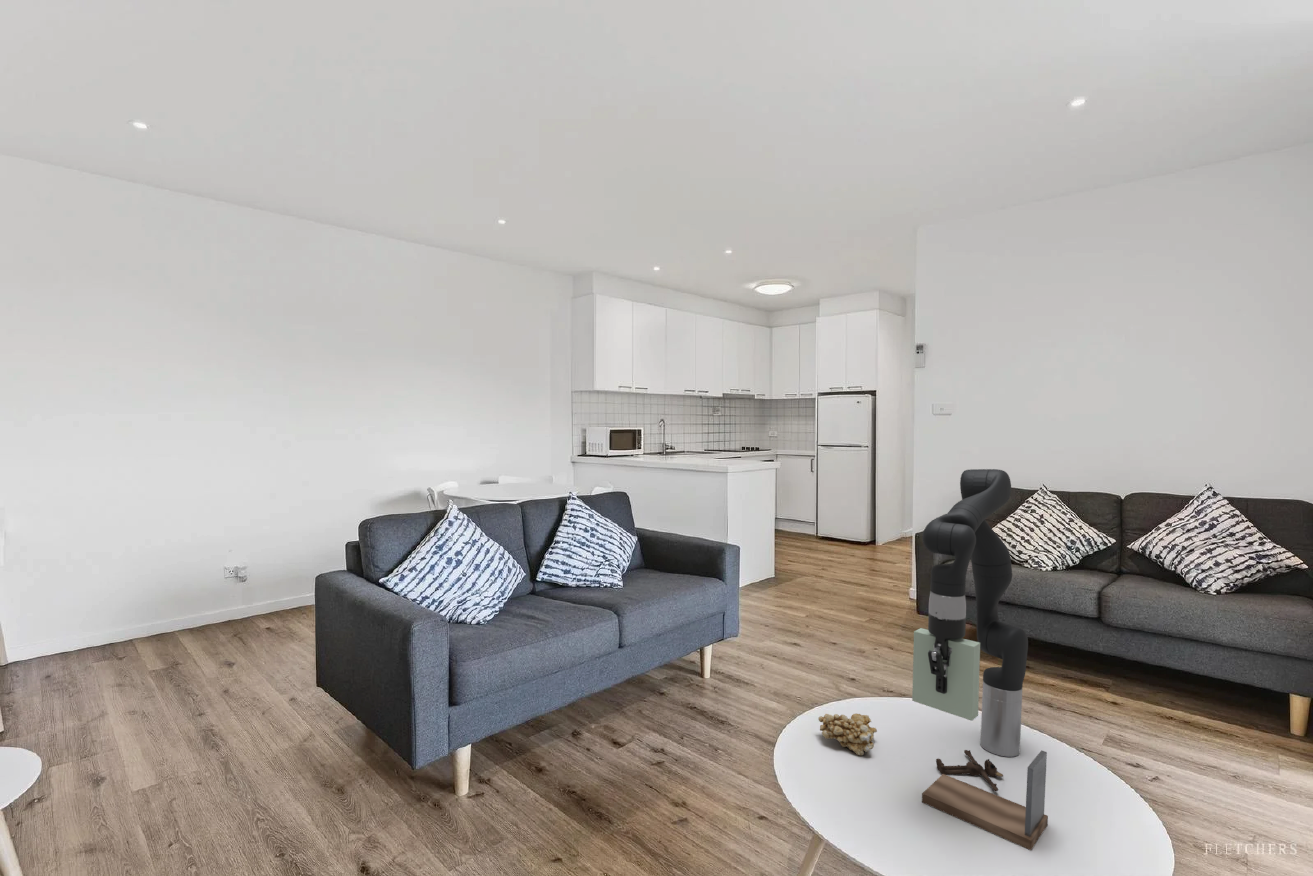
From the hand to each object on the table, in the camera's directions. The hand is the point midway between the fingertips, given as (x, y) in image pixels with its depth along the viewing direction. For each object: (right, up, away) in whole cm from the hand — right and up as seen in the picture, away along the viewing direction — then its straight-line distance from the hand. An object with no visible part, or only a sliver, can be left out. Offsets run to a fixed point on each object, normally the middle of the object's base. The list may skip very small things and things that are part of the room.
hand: (945, 689), depth 142 cm
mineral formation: (-14, -26, +28) cm, 41 cm away
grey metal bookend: (+15, -25, -9) cm, 30 cm away
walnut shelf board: (+8, -27, -1) cm, 28 cm away
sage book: (0, -4, 0) cm, 4 cm away
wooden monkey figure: (+13, -27, +15) cm, 33 cm away
